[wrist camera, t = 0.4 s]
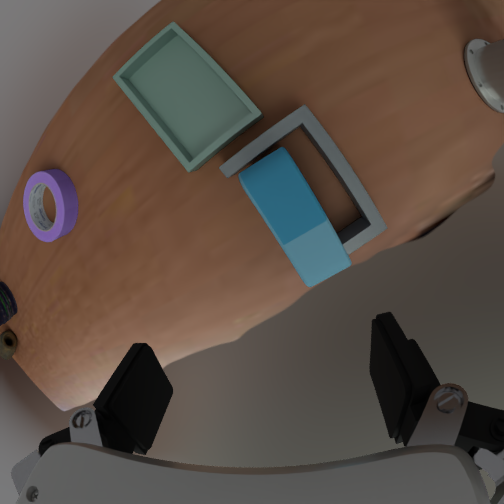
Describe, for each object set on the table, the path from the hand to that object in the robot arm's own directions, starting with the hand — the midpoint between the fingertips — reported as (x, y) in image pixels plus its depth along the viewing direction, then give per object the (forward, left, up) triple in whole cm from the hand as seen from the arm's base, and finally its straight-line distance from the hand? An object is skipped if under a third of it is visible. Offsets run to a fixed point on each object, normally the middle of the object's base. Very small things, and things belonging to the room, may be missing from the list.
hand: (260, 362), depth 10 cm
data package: (-3, 0, -25) cm, 25 cm away
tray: (-1, -19, -25) cm, 32 cm away
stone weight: (+85, -18, -25) cm, 91 cm away
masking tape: (+27, -24, -25) cm, 44 cm away
